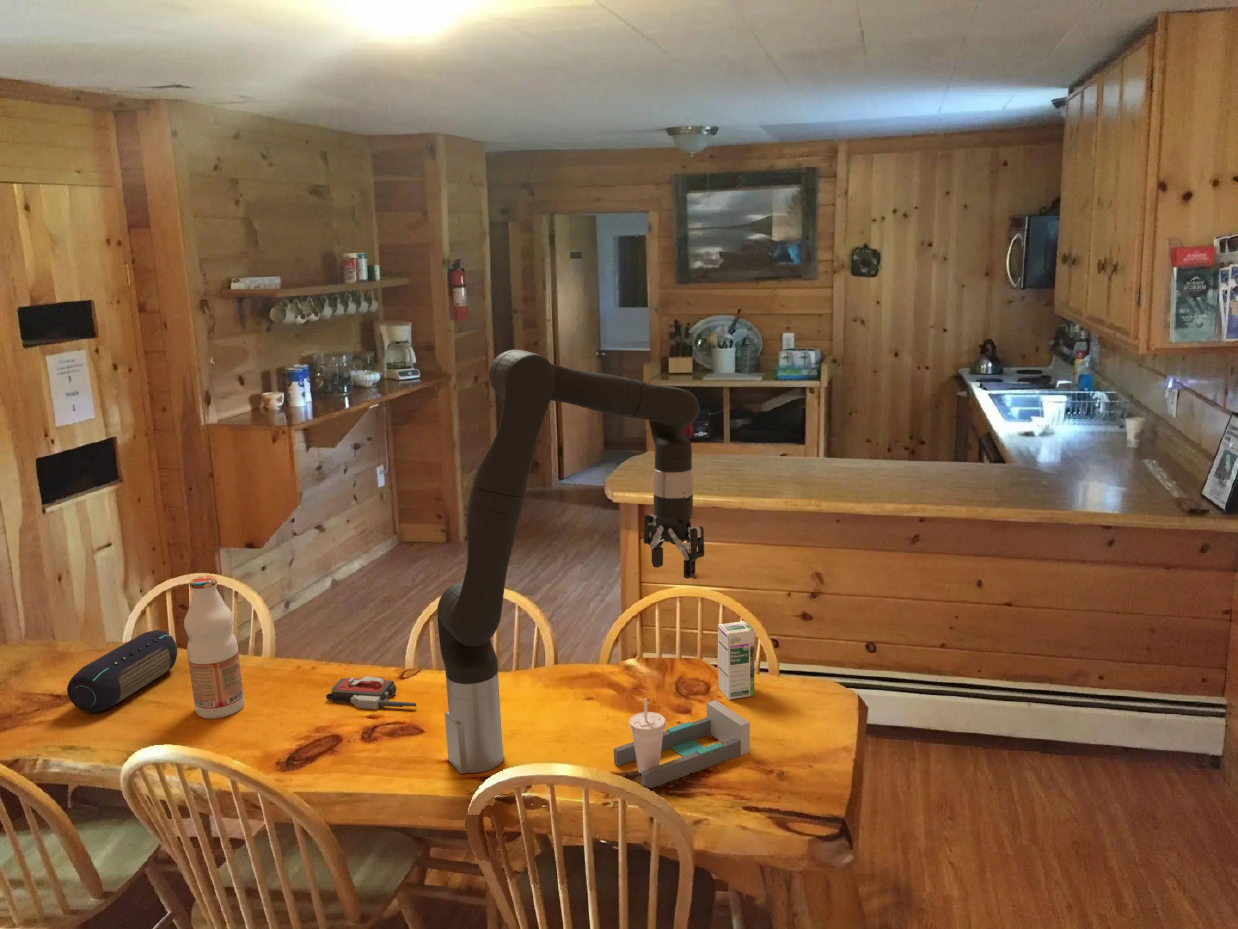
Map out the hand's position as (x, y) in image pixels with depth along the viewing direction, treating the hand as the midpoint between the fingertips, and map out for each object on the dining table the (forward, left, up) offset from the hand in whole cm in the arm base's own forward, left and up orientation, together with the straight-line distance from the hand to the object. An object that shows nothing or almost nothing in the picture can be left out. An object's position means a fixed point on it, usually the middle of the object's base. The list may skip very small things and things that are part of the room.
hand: (673, 572), depth 195 cm
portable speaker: (-93, +70, -28) cm, 119 cm away
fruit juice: (-78, +50, -28) cm, 97 cm away
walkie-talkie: (-50, +36, -29) cm, 68 cm away
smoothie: (-18, -18, -28) cm, 38 cm away
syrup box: (+13, -3, -28) cm, 31 cm away
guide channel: (-11, -18, -28) cm, 35 cm away
